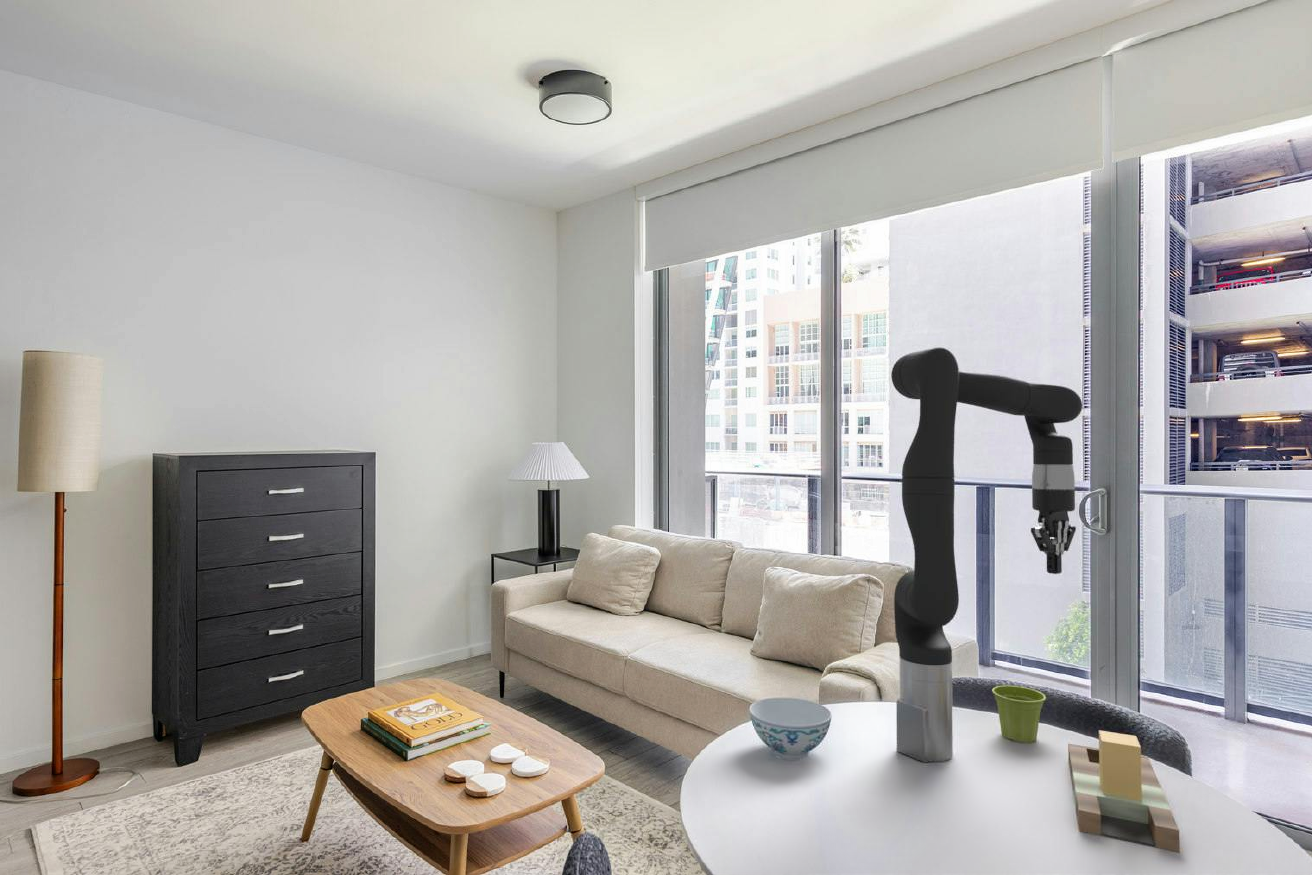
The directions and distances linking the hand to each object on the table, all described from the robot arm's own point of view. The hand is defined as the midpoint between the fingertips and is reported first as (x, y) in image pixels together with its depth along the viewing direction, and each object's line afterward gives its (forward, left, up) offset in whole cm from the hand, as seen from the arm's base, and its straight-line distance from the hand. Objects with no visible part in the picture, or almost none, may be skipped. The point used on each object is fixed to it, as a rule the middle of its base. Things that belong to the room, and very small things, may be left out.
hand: (1054, 573), depth 141 cm
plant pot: (-8, +3, -32) cm, 33 cm away
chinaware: (-52, +21, -32) cm, 65 cm away
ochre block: (-23, -22, -29) cm, 43 cm away
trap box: (-20, -20, -32) cm, 43 cm away
